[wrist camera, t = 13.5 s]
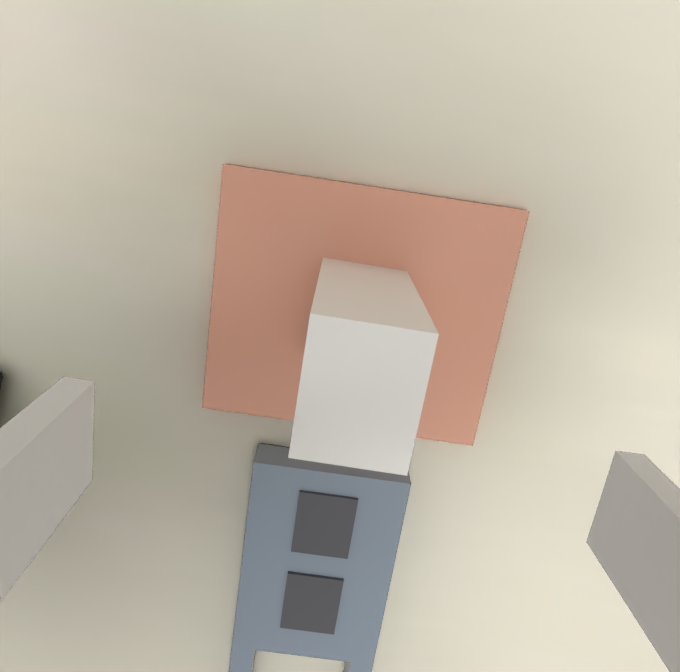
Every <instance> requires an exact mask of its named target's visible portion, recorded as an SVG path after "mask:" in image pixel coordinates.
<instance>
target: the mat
mask: <svg viewBox="0 0 680 672" xmlns="http://www.w3.org/2000/svg"><path fill="white" fill-rule="evenodd" d="M528 215H529V211H527V210H523V209H516V208H510V207H503V206H497V205H490V204H484V203H477V202H471V201H464V200H458V199H451V198H445V197H438V196H432V195H425V194H419V193H412V192H406V191H399V190H393V189H386V188H380V187H373V186H367V185H360V184H354V183H347V182H341V181H334V180H328V179H321V178H315V177H308V176H302V175H295V174H289V173H282V172H276V171H269V170H263V169H256V168H250V167H243V166H237V165H230V164H223V170H222V182H221V193H220V205H219V217H218V229H217V241H216V252H215V264H214V276H213V288H212V300H211V311H210V323H209V335H208V347H207V359H206V370H205V382H204V394H203V406H202V408H208V409H215V410H222V411H229V412H236V413H243V414H250V415H258V416H265V417H272V418H279V419H286V420H293V421H294V416H295V409H296V403H297V396H298V390H299V383H300V377H301V370H302V364H303V357H304V350H305V344H306V337H307V331H308V324H309V318H310V312H311V308H312V303H313V299H314V295H315V290H316V286H317V282H318V277H319V273H320V269H321V264H322V260H323V257H324V258H330V259H336V260H342V261H348V262H354V263H361V264H367V265H373V266H379V267H385V268H391V269H397V270H403V271H407V272H408V274H409V276H410V278H411V280H412V282H413V284H414V286H415V288H416V290H417V292H418V293H419V295H420V297H421V299H422V301H423V303H424V305H425V307H426V309H427V311H428V313H429V315H430V317H431V319H432V321H433V323H434V325H435V327H436V329H437V331H438V333H439V336H438V341H437V345H436V350H435V354H434V358H433V363H432V367H431V372H430V376H429V381H428V385H427V390H426V394H425V399H424V403H423V408H422V412H421V417H420V421H419V426H418V430H417V435H416V438H422V439H429V440H436V441H443V442H450V443H458V444H465V445H472V446H473V444H474V439H475V435H476V431H477V427H478V423H479V419H480V414H481V410H482V406H483V402H484V398H485V394H486V390H487V385H488V381H489V377H490V373H491V369H492V365H493V361H494V356H495V352H496V348H497V344H498V340H499V336H500V332H501V327H502V323H503V319H504V315H505V311H506V307H507V303H508V298H509V294H510V290H511V286H512V282H513V278H514V274H515V269H516V265H517V261H518V257H519V253H520V249H521V244H522V240H523V236H524V232H525V228H526V224H527V220H528Z"/></svg>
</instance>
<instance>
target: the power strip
mask: <svg viewBox="0 0 680 672" xmlns="http://www.w3.org/2000/svg"><path fill="white" fill-rule="evenodd" d="M289 449H290V448H288V447H281V446H274V445H267V444H259V446H258V449H257V452H256V455H255V459H254V462H253V470H252V479H251V487H250V496H249V504H248V513H247V521H246V530H245V538H244V547H243V556H242V564H241V573H240V581H239V590H238V598H237V607H236V615H235V624H234V632H233V641H232V650H231V658H230V667H229V672H253V665H254V657H255V650H259V651H267V652H275V653H283V654H291V655H299V656H306V657H314V658H322V659H330V660H338V661H346V662H345V667H344V672H372V667H373V662H374V657H375V653H376V648H377V643H378V638H379V634H380V629H381V624H382V619H383V615H384V610H385V605H386V600H387V596H388V591H389V586H390V581H391V577H392V572H393V567H394V562H395V558H396V553H397V548H398V543H399V539H400V534H401V529H402V524H403V520H404V515H405V510H406V505H407V501H408V496H409V491H410V486H411V482H410V476H409V471H408V475H407V476H406V475H399V474H392V473H386V472H379V471H372V470H366V469H359V468H352V467H346V466H339V465H332V464H326V463H319V462H313V461H306V460H299V459H293V458H288V455H289Z"/></svg>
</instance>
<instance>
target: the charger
mask: <svg viewBox="0 0 680 672" xmlns="http://www.w3.org/2000/svg"><path fill="white" fill-rule="evenodd" d="M438 336H439V333H438V331H437V329H436V327H435V325H434V323H433V321H432V319H431V317H430V315H429V313H428V311H427V309H426V307H425V305H424V303H423V301H422V299H421V297H420V295H419V293H418V292H417V290H416V288H415V286H414V284H413V282H412V280H411V278H410V276H409V274H408V272H407V271H403V270H397V269H391V268H385V267H379V266H373V265H367V264H361V263H354V262H348V261H342V260H336V259H330V258H324V257H323V260H322V264H321V269H320V273H319V277H318V282H317V286H316V290H315V295H314V299H313V303H312V308H311V312H310V318H309V324H308V331H307V337H306V344H305V350H304V357H303V364H302V370H301V377H300V383H299V390H298V396H297V403H296V409H295V416H294V422H293V429H292V436H291V442H290V449H289V455H288V458H293V459H299V460H306V461H313V462H319V463H326V464H332V465H339V466H346V467H352V468H359V469H366V470H372V471H379V472H386V473H392V474H399V475H406V476H407V475H408V470H409V466H410V461H411V457H412V452H413V448H414V443H415V439H416V435H417V430H418V426H419V421H420V417H421V412H422V408H423V403H424V399H425V394H426V390H427V385H428V381H429V376H430V372H431V367H432V363H433V358H434V354H435V350H436V345H437V341H438Z"/></svg>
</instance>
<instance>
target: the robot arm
mask: <svg viewBox="0 0 680 672" xmlns="http://www.w3.org/2000/svg"><path fill="white" fill-rule="evenodd" d="M94 403H95V381H92V380H84V379H77V378H69V377H62V378H61V379H60V380H59V381H57V382H56V383H55V384H54V385H52V386H51V387H50V388H49V389H48V390H46V391H45V392H44V393H43V394H41V395H40V396H39V397H38V398H37V399H35V400H34V401H33V402H32V403H30V404H29V405H28V406H27V407H25V408H24V409H23V410H22V411H21V412H19V413H18V414H17V415H16V416H14V417H13V418H12V419H11V420H10V421H8V422H7V423H6V424H5V425H3V426H2V427H1V428H0V602H1V601H2V600H3V598H4V597H5V596H6V594H7V593H8V592H9V590H10V589H11V588H12V586H13V585H14V584H15V582H16V581H17V580H18V578H19V577H20V576H21V574H22V573H23V572H24V570H25V569H26V568H27V566H28V565H29V564H30V562H31V561H32V560H33V558H34V557H35V556H36V554H37V553H38V552H39V550H40V549H41V548H42V546H43V545H44V544H45V542H46V541H47V540H48V538H49V537H50V536H51V534H52V533H53V532H54V530H55V529H56V528H57V526H58V525H59V524H60V522H61V521H62V520H63V518H64V517H65V516H66V514H67V513H68V512H69V510H70V509H71V508H72V506H73V505H74V504H75V502H76V501H77V500H78V498H79V497H80V496H81V494H82V493H83V492H84V490H85V489H86V488H87V486H88V485H89V484H90V482H91V481H92V480H93V441H94ZM587 544H588V545H589V547H590V548H591V550H592V551H593V553H594V555H595V556H596V558H597V559H598V561H599V562H600V564H601V565H602V567H603V569H604V570H605V572H606V573H607V575H608V576H609V578H610V580H611V581H612V583H613V584H614V586H615V587H616V589H617V590H618V592H619V594H620V595H621V597H622V598H623V600H624V601H625V603H626V604H627V606H628V608H629V609H630V611H631V612H632V614H633V615H634V617H635V619H636V620H637V622H638V623H639V625H640V626H641V628H642V629H643V631H644V633H645V634H646V636H647V637H648V639H649V640H650V642H651V643H652V645H653V647H654V648H655V650H656V651H657V653H658V654H659V656H660V658H661V659H662V661H663V662H664V664H665V665H666V667H667V668H668V670H669V672H680V489H679V488H678V487H677V486H676V485H675V484H674V483H673V482H672V481H671V480H670V479H669V478H668V477H667V476H666V475H665V474H664V473H663V472H662V471H661V470H660V469H659V468H658V467H657V466H656V465H655V464H654V463H653V462H652V461H651V460H650V459H649V458H648V457H647V456H646V455H644V454H637V453H629V452H622V451H615V454H614V457H613V461H612V464H611V467H610V470H609V473H608V476H607V479H606V482H605V486H604V489H603V492H602V495H601V498H600V501H599V504H598V507H597V510H596V514H595V517H594V520H593V523H592V526H591V529H590V532H589V535H588V538H587Z"/></svg>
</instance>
